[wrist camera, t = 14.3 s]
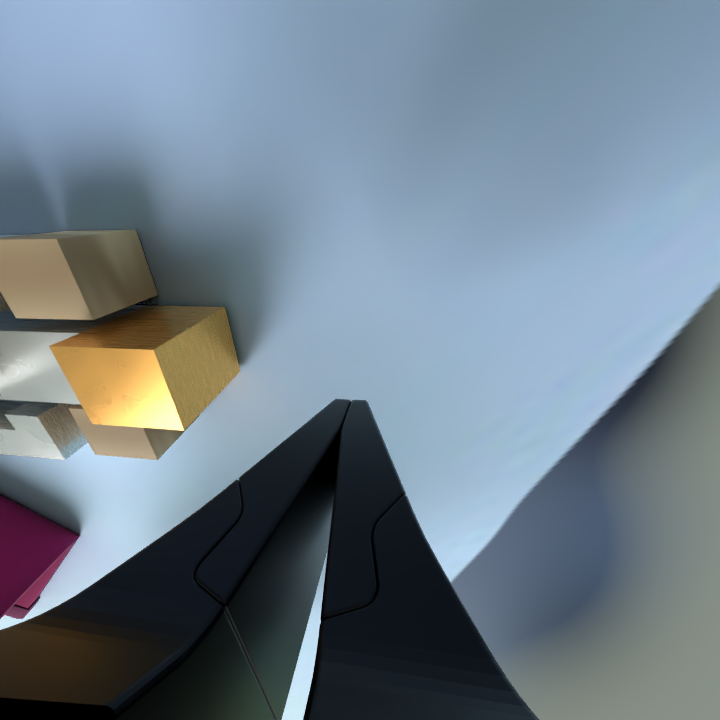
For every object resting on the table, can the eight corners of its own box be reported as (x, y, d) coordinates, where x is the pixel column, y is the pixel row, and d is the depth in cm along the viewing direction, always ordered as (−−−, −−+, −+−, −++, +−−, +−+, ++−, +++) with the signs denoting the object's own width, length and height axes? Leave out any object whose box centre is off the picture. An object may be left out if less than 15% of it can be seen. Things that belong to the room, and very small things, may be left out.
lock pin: (240, 371, 14) (184, 430, 10) (57, 363, 15) (-50, 413, 11) (224, 306, 12) (153, 349, 9) (23, 303, 13) (-110, 340, 10)
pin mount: (199, 415, 16) (157, 459, 13) (146, 412, 16) (95, 454, 13) (135, 229, 11) (56, 238, 9) (66, 231, 12) (-30, 239, 9)
